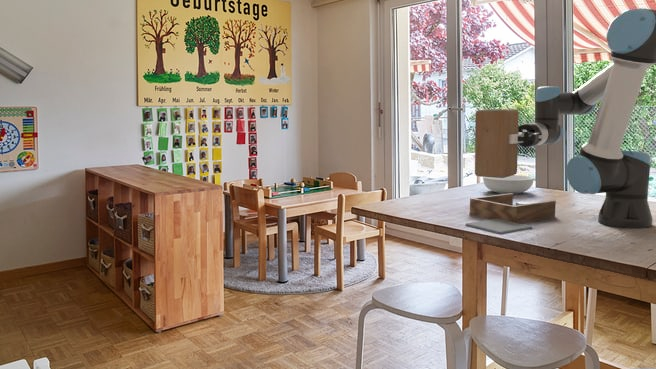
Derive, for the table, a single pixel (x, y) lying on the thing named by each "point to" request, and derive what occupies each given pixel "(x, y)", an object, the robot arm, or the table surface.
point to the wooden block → (495, 143)
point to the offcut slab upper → (523, 203)
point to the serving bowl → (509, 184)
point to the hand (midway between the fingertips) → (492, 138)
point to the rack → (510, 208)
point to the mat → (498, 226)
